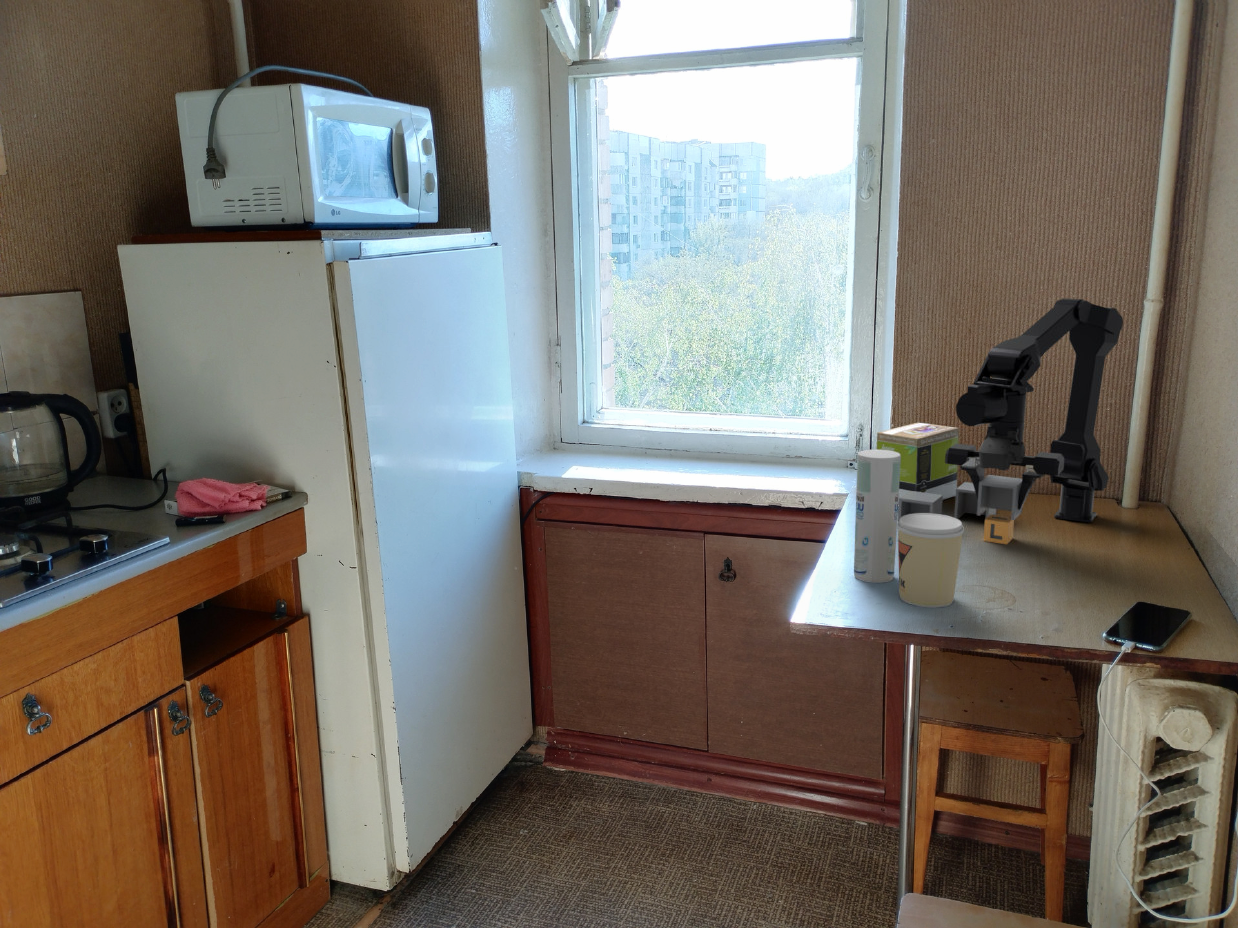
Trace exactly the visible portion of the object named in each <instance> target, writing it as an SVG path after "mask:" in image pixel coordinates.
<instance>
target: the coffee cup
mask: <svg viewBox="0 0 1238 928" xmlns="http://www.w3.org/2000/svg"><path fill="white" fill-rule="evenodd" d="M897 528H898V529H897V532H898V533H897V542H898V543H897V544H898V545H897V546H898V592H899V594H898V595H899V598H900V600H902V601H903V602H904V603H907V604H908V605H912V606H915V607H920V608H921V607H922V608H930V609H931V608H943V607H948V606H950V605H951V604H952V603H953V602H954V597H955V591H956V585H957V578H958V570H959V564H960V556H961V549H962V541H963V534H964V532H965V527H964V526H963V523H962V521H961V520H960V519H959V518H958V519H956V518H954V516H953V517H952V516H950V515H947V514H942V515H941V514H932V513H915V514H909V515H905V516H903V517H901V518H900V520H899V522H898V521H897Z"/></svg>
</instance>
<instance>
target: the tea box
mask: <svg viewBox="0 0 1238 928" xmlns="http://www.w3.org/2000/svg"><path fill="white" fill-rule="evenodd" d="M959 430H960V428H959V427H953V426H948V425H939V424H931V423H924V422H914V423H909V424H907V425H903V426H902V425H901V426H899V427H895V428H890V429H888V430H887V429H885V430H883V431H878V432H877V433H876V450H889V451H894V452H897V453H899V454H900V455H901V462H900V480H899V497H898V505H899V498H900V497H901V496H903V495H904V494H906V493H907V492H909V491H916V492H923V493H931V494H939V495H943V501H944V500H947V499H950V498H953V497H956V489H957V488H958V467H959V465H953V464H946V463H945V454H946V450H948V449H949V448H950V447H952V446H953V445H955V444H959V436H960V431H959Z"/></svg>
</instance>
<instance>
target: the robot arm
mask: <svg viewBox="0 0 1238 928" xmlns="http://www.w3.org/2000/svg"><path fill="white" fill-rule="evenodd" d="M1123 325H1124V318H1123V316H1122V315H1121V314H1120V312H1119V310H1118V309H1117V308H1115V307H1105V306H1101V305H1098V304H1093V303H1091V302H1090V301H1088V300H1085V299H1083V298H1082V299H1081V298H1065V297H1064V298H1061V299H1057V300H1056V301H1055V302H1054V305H1053V307H1052V308H1051V309H1049V311H1047V312H1046V313H1045V314H1044V315H1043V316H1042V317H1040V318H1039V319H1038V320H1037V321H1035V323H1034V324H1032V325H1031V326H1030V327H1029V328H1028V329H1027V330H1025V331H1024V332H1023V333H1022V334H1020V335H1019V336H1016V337H1014V338H1010V339H1006V340H1004V341H1002V342H1000V343H998V344H996V345H995V346H993V347H992V348H991V349H990V350H989V351H988V353H987V356H986V357H985V359H984V361H983V363H982V364H981V367H980V369H979V371H978V373H977V375H976V377H975V379H974V381H973V383H972V384H969V385H968V386H967V392H965V393H964V394H962V395H961V396H960V397H959V399H958V400H957V402H956V403H955V405H956V406H955V411H956V415H957V417H958V419H959V421H960V422H961V424H963V425H965V426H967V427H977V426H982V425H987V424H988V426H987V429H986V435H985V438H984V440H983V441H982V443H981V445H980V447H979V449H978V450H977V447H976V444H964V443H958V444H955V445H953V446H952V447H950V448H949V449H948V450H946V454H945V463H946V464H953V465H958V466H959V469H960V470H961V471H965V472H966V473H967V474H968V476H969V478H970V481H971V483H973V486H974V489H975V492H976V496H977V499H978V492H979V482H980V481H981V480H982V479H984V478H985V472H986V471H985V470H987V469H995V470H999V471H1006V470H1009V469H1010V467H1011V466H1017V467H1025V469H1026V470H1025V471H1024V472H1023V473H1022V474H1021V479H1022V485H1021V490H1020V495H1019V500H1018V510H1021V508H1022V509H1023V506H1024V505H1025V502H1026V501H1027V500H1026V499H1027V498H1028V495H1029V493H1030V491H1031V489H1032V487H1033V485H1034V484H1035V482H1036V480H1037V479H1042V478H1043V477H1044V476H1049V477H1050V483H1051V484H1058V485H1061V488H1060V489H1061V490H1060V498H1059V499H1060V500H1059V508H1058V510H1057V511H1056V513H1055V514H1054V516H1053V517H1054V518H1055V519H1060V520H1061V519H1062V520H1067V521H1077V522H1083V523H1092V522H1093V520H1094V519H1095V518H1096V516H1097V514H1098V513H1097V512H1096V511H1094V510H1093V509H1094V499H1095V492H1096V491H1097V492H1098V491H1099V492H1102V491H1104V489H1106V488H1107V485H1108V482H1109V479H1110V477H1109V475H1108V474H1107V472H1106V469H1105V468H1104V467H1103V465H1102V463H1101V448H1100V445H1099V443H1098V441H1097V438H1096V437H1095V435H1094V432H1095V428H1096V420H1097V415H1098V414H1097V413H1098V407H1099V401H1100V396H1101V395H1100V394H1101V388H1102V381H1103V375H1104V370H1105V369H1104V368H1105V364H1106V363H1105V361H1106V357H1107V356H1108V354H1110V352H1111V351H1112V350H1113V348H1115V347H1116V345H1117V343H1118V341H1119V337H1120V334H1121V331H1122V330H1123ZM1067 334H1068V340H1069V343H1070V345H1071V347H1072V350H1073V351H1074V353H1075V357H1074V358H1075V360H1074V365H1073V372H1072V379H1071V386H1070V392H1069V398H1068V406H1067V412H1066V420H1065V426H1064V431H1063V433H1062V434H1061V435H1060V436H1059V438H1057V439H1056V440H1055V439H1053V440H1052V441H1051V444H1050V450H1049V451H1050V452H1045V451H1039V452H1038V454H1036V455H1035V456H1031V455H1026V446H1025V443H1024V433H1025V432H1024V430H1025V418H1026V404H1027V393H1033V392H1034V389H1035V388H1034V387H1033V386H1032V385H1031V384H1030V383H1029V382H1028V381H1030V380H1031V378H1032V377H1033V376H1034V375H1035V374H1036V372H1037V371H1038V370H1039V369H1040V367H1041V365H1042V363H1041V362H1042V361H1041V359H1042V357H1043V356H1044V354H1045V353H1047V352H1048V350H1050V349H1051V348H1052V347H1053V346H1055V345H1056V343H1058V341H1060V340H1061V339H1062V338H1063V337H1065V335H1067Z"/></svg>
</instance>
